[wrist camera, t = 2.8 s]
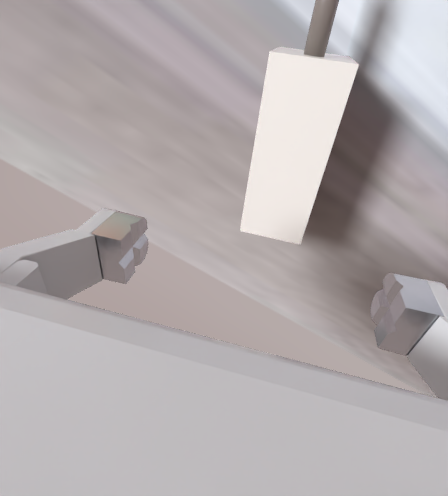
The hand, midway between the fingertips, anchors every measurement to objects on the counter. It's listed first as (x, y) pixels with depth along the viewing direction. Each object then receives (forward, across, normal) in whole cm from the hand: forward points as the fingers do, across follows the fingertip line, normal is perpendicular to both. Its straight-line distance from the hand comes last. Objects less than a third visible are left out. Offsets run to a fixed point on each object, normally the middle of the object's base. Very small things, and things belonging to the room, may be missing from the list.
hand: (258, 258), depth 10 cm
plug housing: (+13, -1, -3) cm, 14 cm away
